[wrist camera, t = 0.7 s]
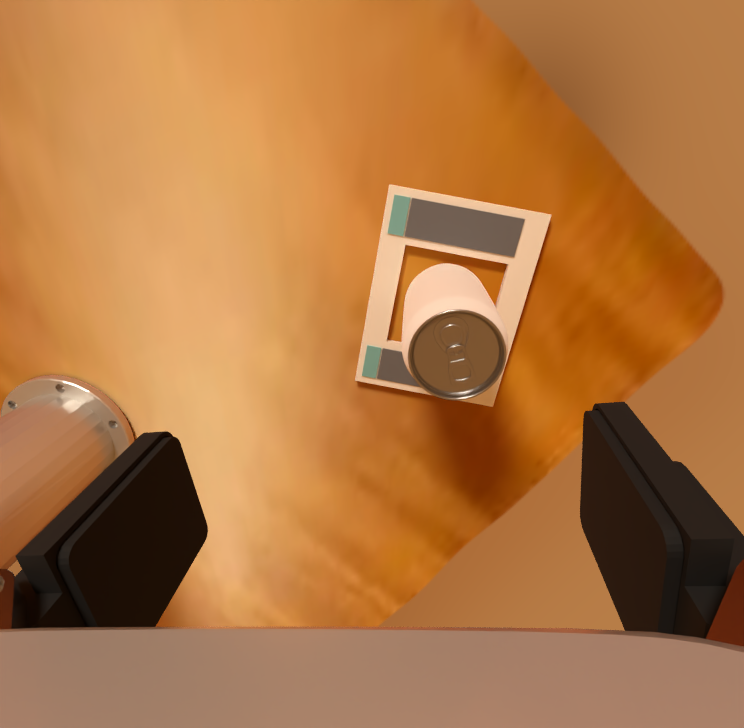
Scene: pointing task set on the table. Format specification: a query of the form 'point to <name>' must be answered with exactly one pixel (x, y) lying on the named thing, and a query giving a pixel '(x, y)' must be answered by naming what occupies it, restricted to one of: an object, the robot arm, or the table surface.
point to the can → (452, 333)
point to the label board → (452, 235)
